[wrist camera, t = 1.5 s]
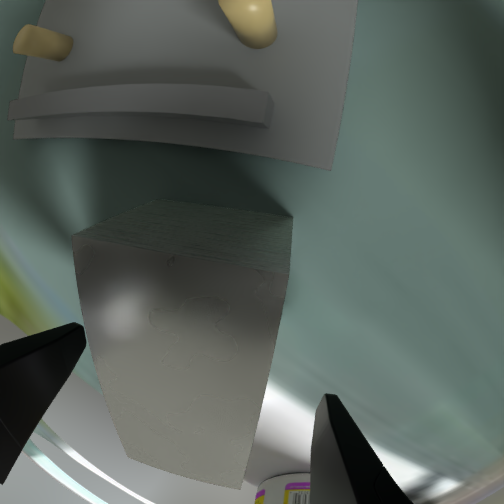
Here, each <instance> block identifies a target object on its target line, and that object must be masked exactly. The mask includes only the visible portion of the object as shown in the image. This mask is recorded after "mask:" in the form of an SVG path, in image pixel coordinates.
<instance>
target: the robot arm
mask: <svg viewBox="0 0 504 504" xmlns="http://www.w3.org/2000/svg"><path fill="white" fill-rule="evenodd" d="M85 347H86V337H85V331H84V327H83V326H82V325H80V324H78V323H76V322H73V323H69V324H66V325H63V326H60V327H57V328H53V329H50V330H47V331H44V332H40V333H37V334H34V335H31V336H27V337H24V338H21V339H17V340H14V341H11V342H8V343H4V344H1V345H0V484H2V485H3V483H4V482H5V480H6V478H7V476H8V474H9V472H10V471H11V469H12V467H13V465H14V463H15V462H16V460H17V458H18V456H19V455H20V453H21V451H22V449H23V448H24V446H25V444H26V443H27V441H28V439H29V438H30V436H31V434H32V433H33V431H34V429H35V428H36V426H37V425H38V423H39V421H40V420H41V418H42V416H43V415H44V413H45V412H46V410H47V409H48V407H49V406H50V404H51V403H52V401H53V400H54V398H55V397H56V395H57V394H58V392H59V391H60V389H61V388H62V386H63V385H64V383H65V382H66V381H67V379H68V377H69V376H70V374H71V372H72V371H73V369H74V367H75V365H76V363H77V362H78V360H79V358H80V356H81V354H82V353H83V351H84V349H85ZM309 504H413V503H412V501H411V500H410V499H409V498H408V497H407V496H406V495H405V494H404V492H403V491H402V490H401V489H400V487H399V486H398V485H397V484H396V482H395V481H394V480H393V478H392V477H391V476H390V474H389V473H388V471H387V470H386V468H385V467H383V464H382V462H381V461H380V459H379V458H378V456H377V455H376V453H375V452H374V450H373V449H372V447H371V446H370V444H369V443H368V441H367V440H366V438H365V437H364V435H363V434H362V432H361V431H360V429H359V428H358V426H357V425H356V423H355V422H354V420H353V419H352V417H351V416H350V414H349V413H348V411H347V410H346V408H345V407H344V405H343V404H342V402H341V401H340V399H339V398H338V396H337V395H335V394H327V393H326V394H324V395H323V397H322V399H321V401H320V403H319V405H318V407H317V409H316V413H315V422H314V430H313V437H312V445H311V466H310V503H309Z"/></svg>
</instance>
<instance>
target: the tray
mask: <svg viewBox="0 0 504 504" xmlns="http://www.w3.org/2000/svg"><path fill="white" fill-rule="evenodd" d="M357 3H358V0H46V1H45V4H44V6H43V9H42V11H41V14H40V17H39V20H38V22H37V25H36V26H34V25H30V24H27V25H25V26H24V27H23V28H22V29H21V30H20V31H19V33H18V34H17V36H16V38H15V41H14V44H13V52H14V53H16V54H22V55H27V59H26V63H25V67H24V72H23V76H22V81H21V86H20V91H19V97H18V99H16V100H12V101H10V104H9V111H8V119H7V120H15V126H14V136H13V139H30V138H101V139H122V140H137V141H150V142H161V143H172V144H181V145H190V146H198V147H205V148H213V149H220V150H227V151H233V152H239V153H245V154H251V155H257V156H263V157H268V158H273V159H278V160H284V161H288V162H293V163H298V164H303V165H307V166H312V167H316V168H321V169H325V170H329V171H331V169H332V164H333V159H334V154H335V149H336V144H337V139H338V134H339V128H340V123H341V117H342V112H343V106H344V100H345V94H346V88H347V82H348V75H349V68H350V62H351V54H352V47H353V39H354V31H355V22H356V13H357Z"/></svg>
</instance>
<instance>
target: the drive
mask: <svg viewBox="0 0 504 504" xmlns="http://www.w3.org/2000/svg"><path fill="white" fill-rule="evenodd" d="M292 229H293V217H287V216H281V215H274V214H268V213H261V212H255V211H248V210H241V209H234V208H226V207H219V206H211V205H204V204H196V203H188V202H180V201H171V200H162V199H156V200H154V201H151V202H148V203H146V204H143V205H141V206H138V207H136V208H133V209H131V210H128V211H126V212H124V213H121V214H119V215H116V216H114V217H112V218H109V219H107V220H105V221H102V222H100V223H98V224H95V225H93V226H91V227H89V228H87V229H84V230H82V231H80V232H78V233H76V234H73V235H71V236H72V247H73V257H74V265H75V273H76V280H77V287H78V293H79V299H80V304H81V310H82V315H83V320H84V325H85V329H86V334H87V338H88V342H89V346H90V350H91V354H92V358H93V362H94V365H95V369H96V372H97V376H98V379H99V382H100V385H101V389H102V392H103V395H104V398H105V401H106V403H107V406H108V409H109V412H110V415H111V417H112V420H113V423H114V425H115V427H116V430H117V433H118V435H119V438H120V440H121V442H122V445H123V447H124V449H125V452H126V454H127V456H128V457H129V458H131V459H134V460H136V461H139V462H141V463H144V464H147V465H150V466H152V467H155V468H158V469H161V470H164V471H167V472H170V473H173V474H177V475H180V476H183V477H187V478H190V479H194V480H198V481H202V482H206V483H210V484H214V485H219V486H224V487H229V488H234V489H239V490H240V489H241V485H242V482H243V478H244V474H245V471H246V467H247V463H248V459H249V455H250V452H251V448H252V444H253V440H254V436H255V432H256V428H257V424H258V420H259V415H260V411H261V407H262V403H263V398H264V394H265V390H266V385H267V381H268V376H269V372H270V367H271V363H272V358H273V353H274V349H275V344H276V339H277V334H278V329H279V325H280V320H281V315H282V309H283V304H284V299H285V294H286V289H287V283H288V278H289V270H290V257H291V244H292Z"/></svg>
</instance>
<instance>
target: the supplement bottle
mask: <svg viewBox="0 0 504 504" xmlns="http://www.w3.org/2000/svg"><path fill="white" fill-rule="evenodd" d="M309 503H310V473H297V474H288V475H282V476H277V477H273V478H271V479H268V480H266V481H264V482H263V483H262V484H261V485H260V486H259V487H258V490H257V494H256V499H255V504H309Z"/></svg>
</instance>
